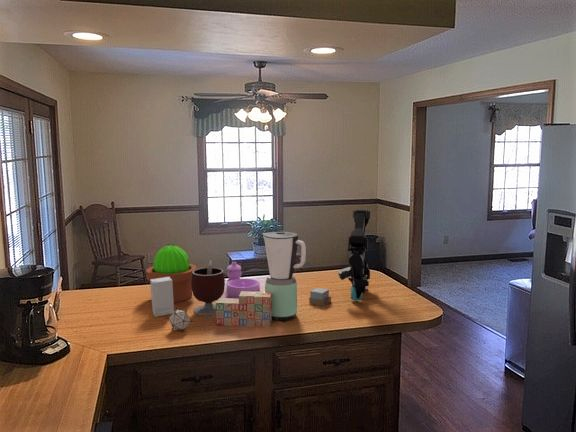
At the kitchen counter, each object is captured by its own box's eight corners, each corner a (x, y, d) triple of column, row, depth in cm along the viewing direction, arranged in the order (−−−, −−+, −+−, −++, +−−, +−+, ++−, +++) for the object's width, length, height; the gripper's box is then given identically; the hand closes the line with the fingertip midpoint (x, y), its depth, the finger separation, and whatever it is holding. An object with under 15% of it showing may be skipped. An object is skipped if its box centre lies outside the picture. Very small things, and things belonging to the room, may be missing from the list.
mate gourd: (222, 316, 202) (221, 268, 199) (189, 316, 202) (187, 268, 199) (227, 304, 217) (227, 259, 214) (196, 303, 217) (195, 259, 214)
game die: (176, 338, 189) (169, 313, 192) (197, 329, 189) (190, 305, 193) (168, 334, 180) (161, 309, 184) (190, 326, 181) (182, 301, 184)
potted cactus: (181, 307, 213) (179, 250, 209) (138, 301, 220) (135, 247, 216) (205, 292, 233) (204, 240, 230) (165, 288, 240) (163, 238, 237)
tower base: (317, 300, 223) (317, 293, 223) (330, 302, 220) (330, 296, 219) (309, 304, 218) (309, 297, 217) (323, 307, 214) (323, 300, 213)
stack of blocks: (215, 325, 192) (215, 295, 190) (219, 320, 198) (218, 290, 196) (270, 327, 190) (270, 296, 188) (272, 321, 196) (272, 291, 194)
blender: (255, 318, 198) (254, 233, 193) (269, 308, 211) (269, 228, 205) (299, 325, 191) (299, 237, 186) (311, 314, 203) (311, 231, 198)
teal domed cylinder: (353, 296, 223) (354, 285, 222) (364, 298, 220) (364, 287, 220) (349, 299, 219) (349, 288, 218) (359, 301, 216) (359, 290, 215)
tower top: (317, 294, 222) (317, 287, 222) (328, 296, 219) (328, 289, 219) (310, 297, 218) (310, 290, 217) (321, 299, 214) (322, 293, 214)
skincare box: (171, 309, 209) (170, 276, 207) (174, 314, 204) (173, 279, 202) (151, 312, 206) (149, 278, 203) (154, 317, 200) (152, 282, 198)
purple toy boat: (264, 299, 224) (264, 270, 222) (232, 303, 218) (231, 274, 216) (246, 284, 247) (246, 259, 245) (217, 288, 241) (216, 262, 239)
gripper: (335, 257, 226) (335, 290, 228) (343, 268, 207) (342, 303, 210) (359, 257, 227) (358, 290, 229) (369, 267, 208) (368, 302, 210)
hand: (356, 296), depth 219 cm, fingers closed on teal domed cylinder, 5 cm apart
